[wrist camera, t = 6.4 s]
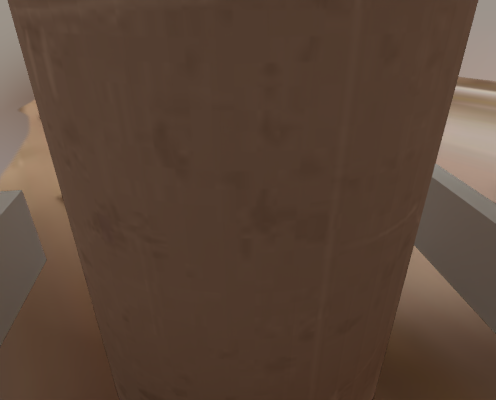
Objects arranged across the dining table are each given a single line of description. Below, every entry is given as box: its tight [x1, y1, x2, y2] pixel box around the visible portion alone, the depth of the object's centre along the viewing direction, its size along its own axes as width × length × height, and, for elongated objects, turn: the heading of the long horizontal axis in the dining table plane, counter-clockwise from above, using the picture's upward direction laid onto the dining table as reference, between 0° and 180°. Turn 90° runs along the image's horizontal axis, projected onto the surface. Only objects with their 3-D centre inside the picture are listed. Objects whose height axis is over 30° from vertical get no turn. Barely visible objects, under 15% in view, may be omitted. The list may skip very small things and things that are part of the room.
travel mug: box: [8, 0, 478, 400], centre depth 10 cm, size 8×8×20 cm
